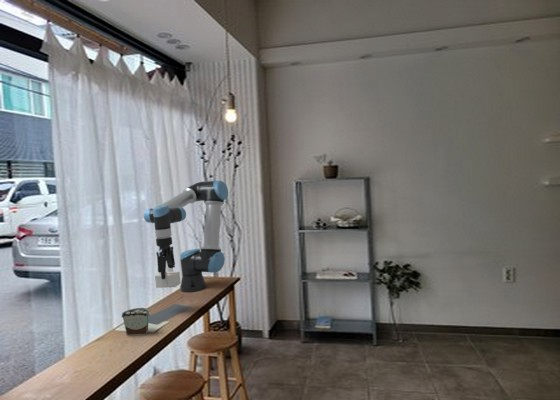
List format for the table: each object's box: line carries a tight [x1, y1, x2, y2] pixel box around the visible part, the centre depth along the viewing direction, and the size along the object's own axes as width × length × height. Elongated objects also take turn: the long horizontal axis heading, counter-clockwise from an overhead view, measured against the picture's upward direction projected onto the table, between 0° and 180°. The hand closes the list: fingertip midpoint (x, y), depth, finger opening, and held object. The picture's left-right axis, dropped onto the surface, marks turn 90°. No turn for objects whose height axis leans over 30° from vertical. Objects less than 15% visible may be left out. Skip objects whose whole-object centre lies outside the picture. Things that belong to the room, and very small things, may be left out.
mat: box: [148, 303, 193, 325], centre depth 193 cm, size 24×13×1 cm, turn 150°
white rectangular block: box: [154, 271, 182, 289], centre depth 194 cm, size 10×6×6 cm, turn 80°
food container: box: [121, 307, 151, 336], centre depth 173 cm, size 12×6×10 cm, turn 84°
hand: (168, 282), depth 195 cm, fingers closed on white rectangular block, 6 cm apart
